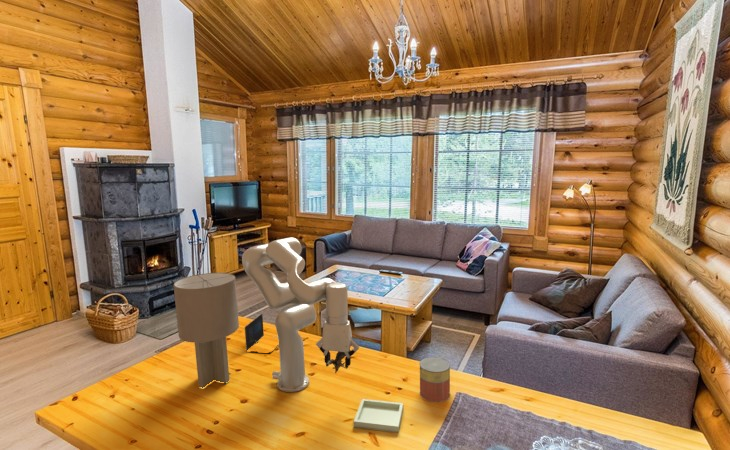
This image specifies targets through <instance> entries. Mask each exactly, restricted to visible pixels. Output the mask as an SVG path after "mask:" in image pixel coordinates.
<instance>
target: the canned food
mask: <svg viewBox="0 0 730 450" xmlns="http://www.w3.org/2000/svg"><path fill="white" fill-rule="evenodd" d="M450 369H451V363H450V362H449V361H448V360H447V359H444V358H443V357H438V356H428V357H424V358H422V359H420V361H419V395H420V397H421V398H422V399H423V400H425V401H426V402H431V403H443V402H445V401H447V400H449V399H450V396H451V391H450V390H451V388H450V387H451V382H450V381H451V379H450V378H451V370H450Z"/></svg>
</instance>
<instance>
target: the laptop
mask: <svg viewBox="0 0 730 450" xmlns="http://www.w3.org/2000/svg"><path fill="white" fill-rule="evenodd" d="M263 336H265V335H264V320H263V313H260V314H258V316H256V318H254V319H252V321H250V322H249V323H248V324H246V325H245V326H244V337H245V351H246V352H247V350H248V349H249V348H250V347H251V346H253V345H254V344H255V343H256V342H258V341H259V339H260V338H262V337H263ZM273 337H276V336H274V335H273Z"/></svg>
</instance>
